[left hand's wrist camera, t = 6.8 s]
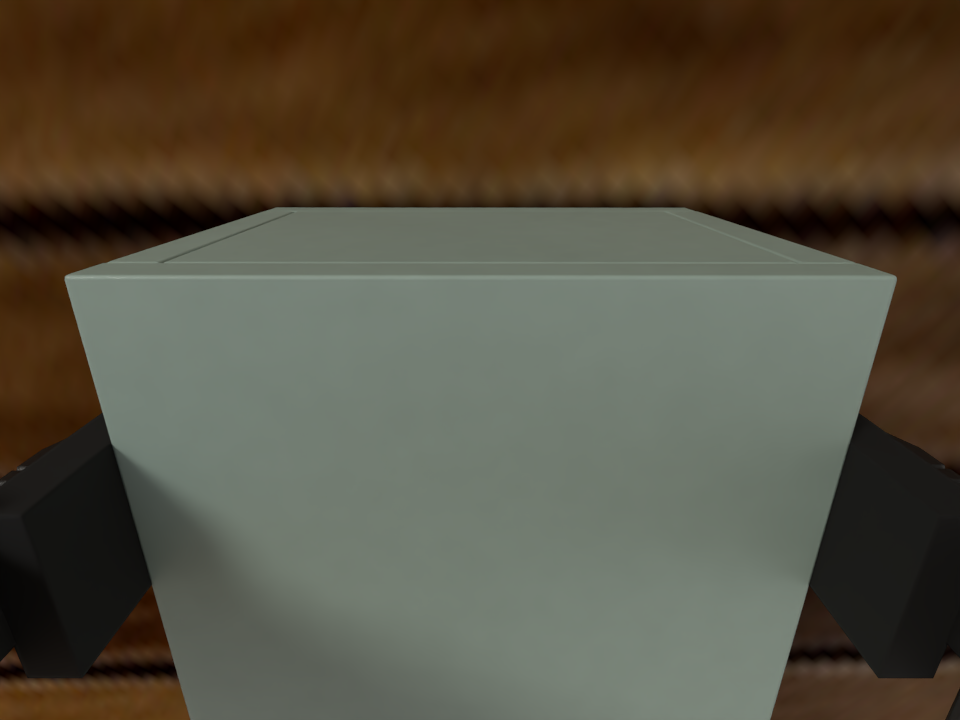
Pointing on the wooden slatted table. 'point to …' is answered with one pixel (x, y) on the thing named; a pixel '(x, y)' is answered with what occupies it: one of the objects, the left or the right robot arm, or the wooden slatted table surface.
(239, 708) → the cabinet
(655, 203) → the wooden slatted table surface
